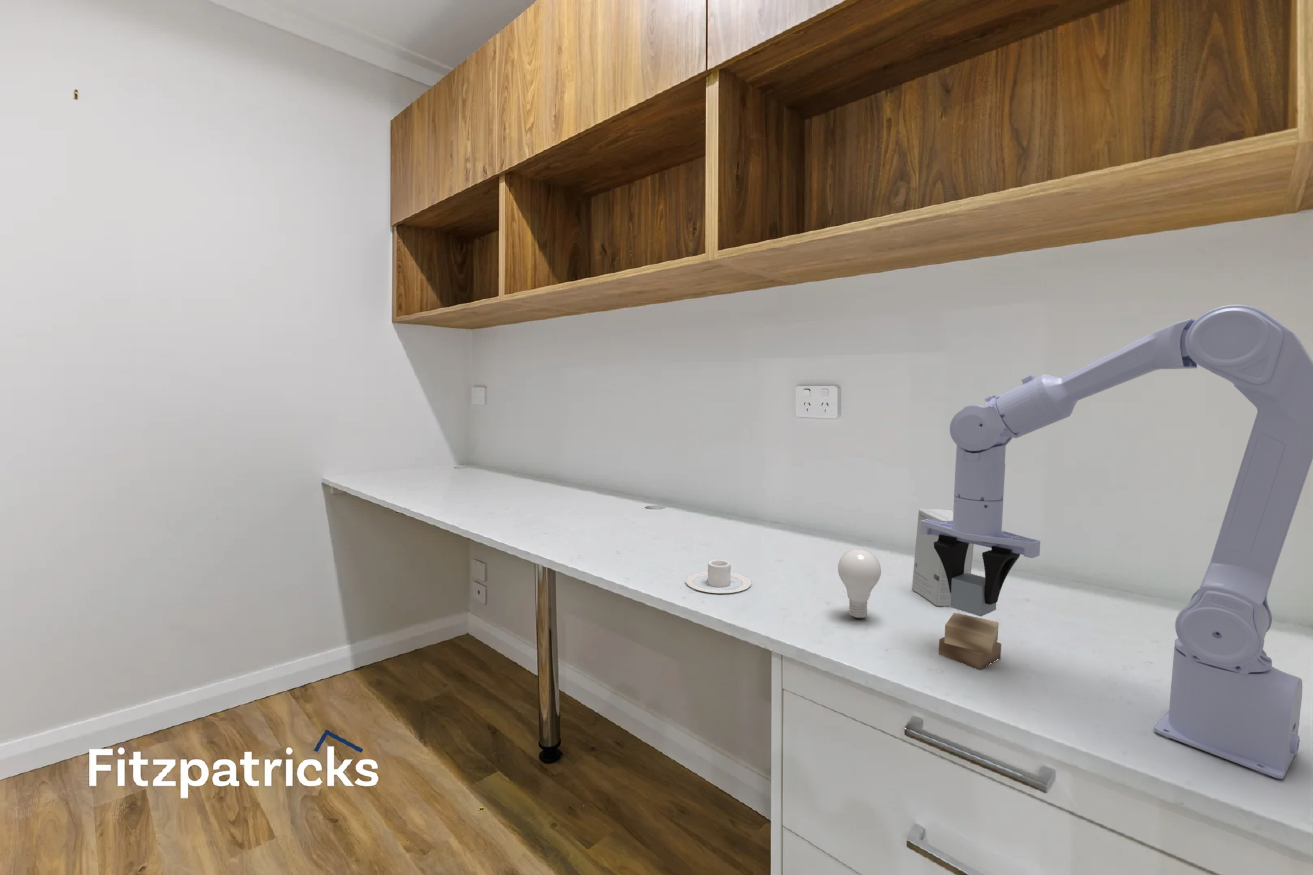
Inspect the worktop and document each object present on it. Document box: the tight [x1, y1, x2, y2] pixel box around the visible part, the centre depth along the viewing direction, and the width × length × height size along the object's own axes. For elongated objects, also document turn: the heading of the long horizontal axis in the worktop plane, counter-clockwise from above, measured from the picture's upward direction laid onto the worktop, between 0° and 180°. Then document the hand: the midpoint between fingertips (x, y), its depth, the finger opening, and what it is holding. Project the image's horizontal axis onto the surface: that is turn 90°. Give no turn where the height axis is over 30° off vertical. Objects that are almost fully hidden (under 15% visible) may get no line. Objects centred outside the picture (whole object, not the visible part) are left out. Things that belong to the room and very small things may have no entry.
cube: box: [950, 573, 997, 618], centre depth 79 cm, size 4×4×4 cm
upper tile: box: [944, 612, 999, 654], centre depth 79 cm, size 6×6×2 cm
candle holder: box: [684, 559, 752, 594], centre depth 109 cm, size 12×12×4 cm
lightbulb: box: [837, 548, 882, 620], centre depth 92 cm, size 6×6×11 cm
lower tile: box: [938, 636, 1002, 671], centre depth 80 cm, size 6×6×2 cm
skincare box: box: [911, 508, 975, 607], centre depth 101 cm, size 8×6×15 cm
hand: (973, 597), depth 79 cm, fingers closed on cube, 4 cm apart
